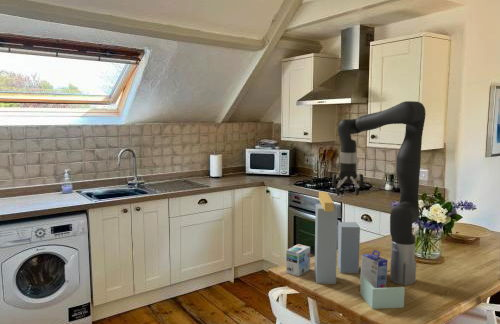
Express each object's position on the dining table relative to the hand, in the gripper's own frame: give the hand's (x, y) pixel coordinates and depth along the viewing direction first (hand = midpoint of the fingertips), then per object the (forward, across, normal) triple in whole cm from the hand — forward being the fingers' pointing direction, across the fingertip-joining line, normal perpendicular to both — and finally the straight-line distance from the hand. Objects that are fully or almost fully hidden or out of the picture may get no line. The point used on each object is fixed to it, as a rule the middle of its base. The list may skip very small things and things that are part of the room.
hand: (347, 195), depth 190 cm
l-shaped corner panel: (+32, +4, -42) cm, 53 cm away
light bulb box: (+32, -25, -14) cm, 43 cm away
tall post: (+32, -14, -24) cm, 42 cm away
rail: (0, -14, -21) cm, 25 cm away
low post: (+32, -2, -12) cm, 34 cm away
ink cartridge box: (+32, +5, -29) cm, 44 cm away
